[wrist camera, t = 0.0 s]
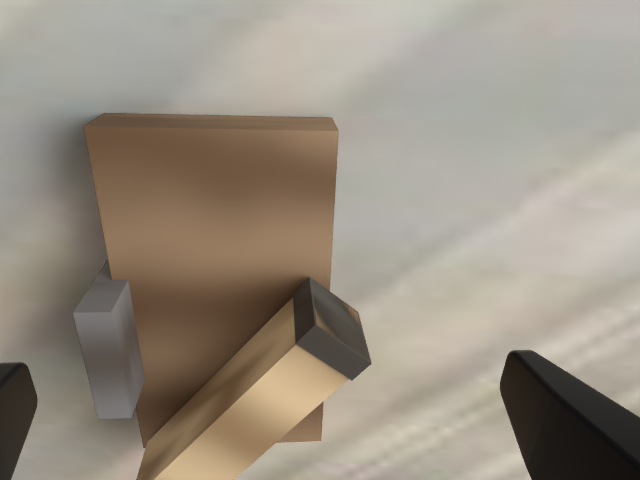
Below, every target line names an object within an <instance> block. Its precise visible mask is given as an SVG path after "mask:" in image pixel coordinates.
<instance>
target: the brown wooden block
mask: <svg viewBox="0 0 640 480" xmlns="http://www.w3.org/2000/svg"><path fill="white" fill-rule="evenodd" d="M84 132H85V137H86V143H87V148H88V153H89V159H90V164H91V169H92V175H93V180H94V185H95V191H96V196H97V201H98V207H99V212H100V217H101V223H102V228H103V234H104V239H105V244H106V250H107V255H108V260H107V261H106V263H105V265H104V266H103V268H102V269H101V271H100V272H99V274H98V275H97V277H96V278H95V280H94V281H93V283H92V284H91V286H90V287H89V289H88V290H87V292H86V293H85V295H84V296H83V298H82V299H81V301H80V303H79V304H78V306H77V307H76V309H75V310H74V312H73V316H74V320H75V325H76V329H77V333H78V337H79V341H80V345H81V350H82V354H83V358H84V362H85V366H86V370H87V375H88V379H89V383H90V387H91V391H92V395H93V400H94V404H95V408H96V412H97V416H98V419H122V418H132V416H133V413H134V410H135V407H136V410H137V416H138V421H139V426H140V432H141V437H142V442H143V448H146V445H147V442H148V441H149V440H150V439H151V438H152V437H153V436H154V435H155V434H156V433H157V432H158V431H159V430H160V429H161V428H162V427H163V426H164V425H165V424H166V423H167V422H168V421H169V420H170V419H171V418H172V417H173V416H174V415H175V414H176V413H177V412H178V411H179V410H180V409H181V408H182V407H183V406H184V405H185V404H186V403H187V402H188V401H189V400H190V399H191V398H192V397H193V396H194V395H195V394H196V393H197V392H198V391H199V390H200V389H201V388H202V387H203V386H204V385H205V384H206V383H207V382H208V381H209V380H210V379H211V378H212V377H213V376H214V375H215V374H216V373H217V372H218V371H219V370H220V369H221V368H222V367H223V366H224V365H225V364H226V363H227V362H228V361H229V360H230V359H231V358H232V357H233V356H234V355H235V354H236V353H237V352H238V351H239V350H240V349H241V348H242V347H243V346H244V345H245V344H246V343H247V342H248V341H249V340H250V339H251V338H252V337H253V336H254V335H255V334H256V333H257V332H258V331H259V330H260V329H261V328H262V327H263V326H264V325H265V324H266V323H267V322H268V321H269V320H270V319H271V318H272V317H273V316H274V315H275V314H276V313H277V312H278V311H279V310H280V309H281V308H282V307H283V306H284V305H285V304H286V303H287V302H289V301H290V300H291V299H292V298H293V293H294V292H295V291H296V290H297V289H298V288H299V287H300V286H301V285H302V284H303V283H304V282H305V281H306V280H307V279H308V278H309V277H311V278H312V279H313V280H315V281H316V282H318V283H319V284H320V285H322V286H323V287H324V288H326V289H327V290H329V291H330V275H331V258H332V240H333V222H334V205H335V187H336V169H337V151H338V134H339V131H338V129H337V127H336V125H335V123H334V121H333V118H314V117H267V116H220V115H173V114H126V113H104V114H102V115H101V116H99V117H98V118H96V119H94V120H93V121H91V122H90V123H88V124H87V125H85V126H84ZM322 417H323V402H322V403H321V404H320V405H318V406H317V407H316V408H315V409H314V410H313V411H312V412H310V413H309V414H308V415H307V416H306V417H305V418H304V419H302V420H301V421H300V422H299V423H298V424H297V425H296V426H294V427H293V428H292V429H291V430H290V431H289V432H288V433H286V434H285V435H284V436H283V437H282V438H281V439H280V440H278V441H277V442H276V443H279V442H303V441H321V435H322Z"/></svg>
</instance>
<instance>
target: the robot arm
mask: <svg viewBox="0 0 640 480" xmlns="http://www.w3.org/2000/svg"><path fill="white" fill-rule="evenodd" d="M500 392H501V396H502V399H503V401H504V404H505V407H506V410H507V413H508V416H509V419H510V422H511V425H512V428H513V431H514V433H515V436H516V439H517V442H518V445H519V448H520V451H521V454H522V457H523V459H524V462H525V465H526V467H527V470H528V472H529V474H530V477H531V479H532V480H640V417H638V416H637V415H635V414H634V413H632V412H630V411H629V410H627V409H626V408H624V407H622V406H621V405H619V404H618V403H616V402H614V401H613V400H611V399H609V398H608V397H606V396H605V395H603V394H601V393H600V392H598V391H597V390H595V389H593V388H592V387H590V386H589V385H587V384H585V383H584V382H582V381H581V380H579V379H577V378H576V377H574V376H573V375H571V374H569V373H568V372H566V371H565V370H563V369H561V368H560V367H558V366H557V365H555V364H553V363H552V362H550V361H549V360H547V359H545V358H544V357H542V356H540V355H539V354H537V353H536V352H534V351H532V350H513V351H511V352H510V353H509V354H508V356H507V359H506V363H505V366H504V370H503V373H502V377H501V381H500ZM36 408H37V394H36V391H35V388H34V385H33V381H32V378H31V375H30V372H29V369H28V367H27V365H26V364H24V363H21V362H14V363H0V480H11V478H12V476H13V473H14V470H15V467H16V464H17V462H18V459H19V456H20V453H21V450H22V448H23V445H24V442H25V439H26V436H27V434H28V431H29V428H30V425H31V423H32V420H33V417H34V414H35V411H36Z"/></svg>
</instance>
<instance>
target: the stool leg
mask: <svg viewBox="0 0 640 480" xmlns="http://www.w3.org/2000/svg"><path fill="white" fill-rule="evenodd" d="M370 364H372V363H371V360H370V356H369V352H368V348H367V344H366V340H365V337H364V333H363V329H362V325H361V321H360V318H359V314H358V312H357V311H356V310H355V309H353V308H352V307H350V306H349V305H348V304H346V303H345V302H344V301H342V300H341V299H339V298H338V297H337V296H335V295H334V294H333V293H331V292H330V291H329V290H327V289H326V288H324V287H323V286H322V285H320V284H319V283H318V282H316V281H315V280H313V279H312V278H311V277H309V278H308V279H307V280H306V281H305V282H304V283H303V284H302V285H301V286H300V287H299V288H298V289H297V290H296V291H295V292H294V293H293V298H292V299H291V300H290V301H289V302H287V303H286V304H285V305H284V306H283V307H282V308H281V309H280V310H279V311H278V312H277V313H276V314H275V315H274V316H273V317H272V318H271V319H270V320H269V321H268V322H267V323H266V324H265V325H264V326H263V327H262V328H261V329H260V330H259V331H258V332H257V333H256V334H255V335H254V336H253V337H252V338H251V339H250V340H249V341H248V342H247V343H246V344H245V345H244V346H243V347H242V348H241V349H240V350H239V351H238V352H237V353H236V354H235V355H234V356H233V357H232V358H231V359H230V360H229V361H228V362H227V363H226V364H225V365H224V366H223V367H222V368H221V369H220V370H219V371H218V372H217V373H216V374H215V375H214V376H213V377H212V378H211V379H210V380H209V381H208V382H207V383H206V384H205V385H204V386H203V387H202V388H201V389H200V390H199V391H198V392H197V393H196V394H195V395H194V396H193V397H192V398H191V399H190V400H189V401H188V402H187V403H186V404H185V405H184V406H183V407H182V408H181V409H180V410H179V411H178V412H177V413H176V414H175V415H174V416H173V417H172V418H171V419H170V420H169V421H168V422H167V423H166V424H165V425H164V426H163V427H162V428H161V429H160V430H159V431H158V432H157V433H156V434H155V435H154V436H153V437H152V438H151V439H150V440H149V441H148V442H147V445H146V449H145V452H144V456H143V459H142V462H141V466H140V469H139V473H138V476H137V479H136V480H234V479H235V478H236V477H237V476H238V475H240V474H241V473H242V472H243V471H244V470H245V469H246V468H248V467H249V466H250V465H251V464H252V463H253V462H254V461H256V460H257V459H258V458H259V457H260V456H261V455H262V454H264V453H265V452H266V451H267V450H268V449H269V448H270V447H272V446H273V445H274V444H275V443H276V442H277V441H278V440H280V439H281V438H282V437H283V436H284V435H285V434H286V433H288V432H289V431H290V430H291V429H292V428H293V427H294V426H296V425H297V424H298V423H299V422H300V421H301V420H302V419H304V418H305V417H306V416H307V415H308V414H309V413H310V412H312V411H313V410H314V409H315V408H316V407H317V406H318V405H320V404H321V403H322V402H323V401H324V400H325V399H326V398H328V397H329V396H330V395H331V394H332V393H333V392H334V391H336V390H337V389H338V388H339V387H340V386H341V385H342V384H344V383H345V382H346V381H347V380H348V379H350V380H353V379H354V378H356V377H357V376H358V375H359V374H360V373H361V372H362V371H364V370H365V369H366V368H367V367H368V366H369V365H370Z"/></svg>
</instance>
